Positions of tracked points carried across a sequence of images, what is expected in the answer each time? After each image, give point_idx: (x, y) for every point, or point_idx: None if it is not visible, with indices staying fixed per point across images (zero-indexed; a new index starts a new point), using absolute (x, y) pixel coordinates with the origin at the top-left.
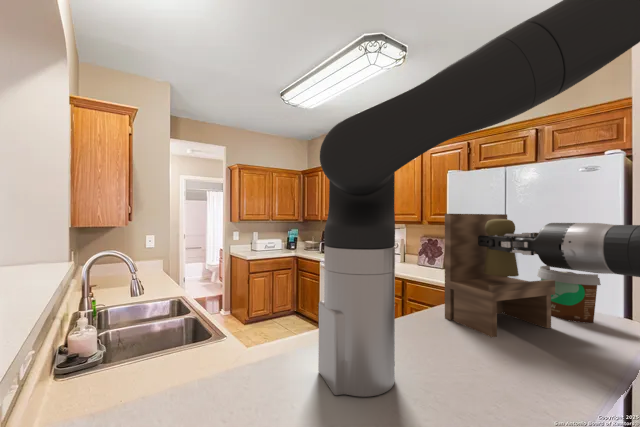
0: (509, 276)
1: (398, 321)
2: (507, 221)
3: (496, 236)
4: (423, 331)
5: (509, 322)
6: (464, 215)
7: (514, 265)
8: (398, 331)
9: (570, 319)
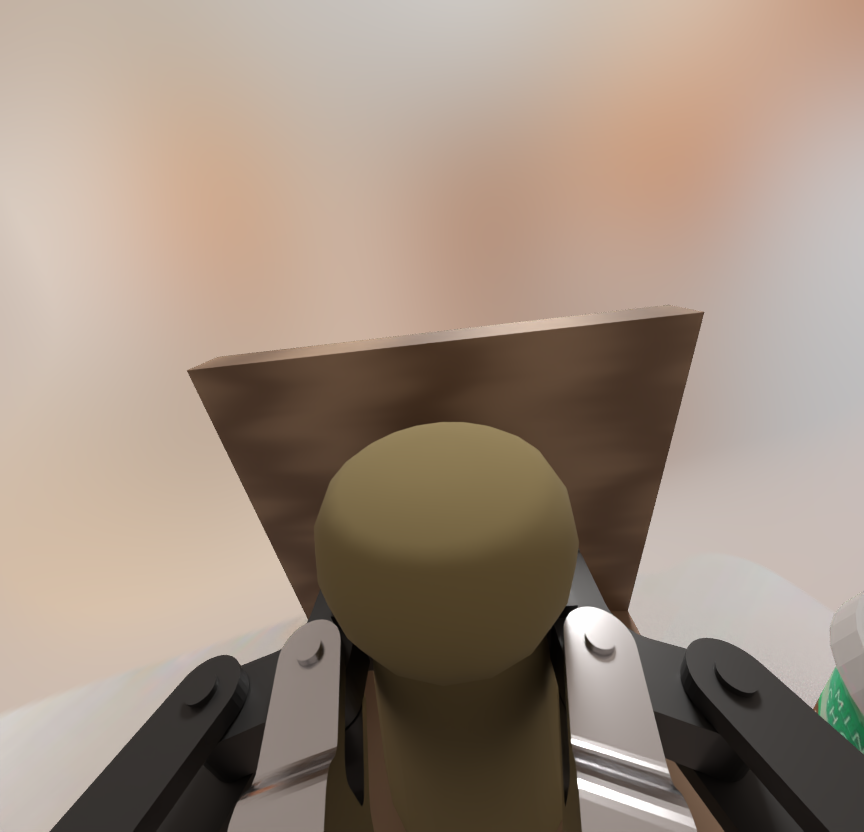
0: None
1: (220, 654)
2: (397, 574)
3: (129, 791)
4: None
5: None
6: (298, 368)
7: None
8: (125, 741)
9: None
